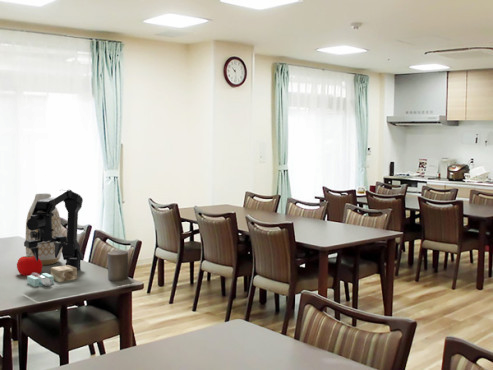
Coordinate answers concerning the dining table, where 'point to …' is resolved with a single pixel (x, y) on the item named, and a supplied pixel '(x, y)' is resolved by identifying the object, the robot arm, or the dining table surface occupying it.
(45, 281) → the axle
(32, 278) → the cradle
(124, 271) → the pillar candle
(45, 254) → the vase
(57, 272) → the open beige box
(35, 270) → the tomato
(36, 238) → the robot arm
